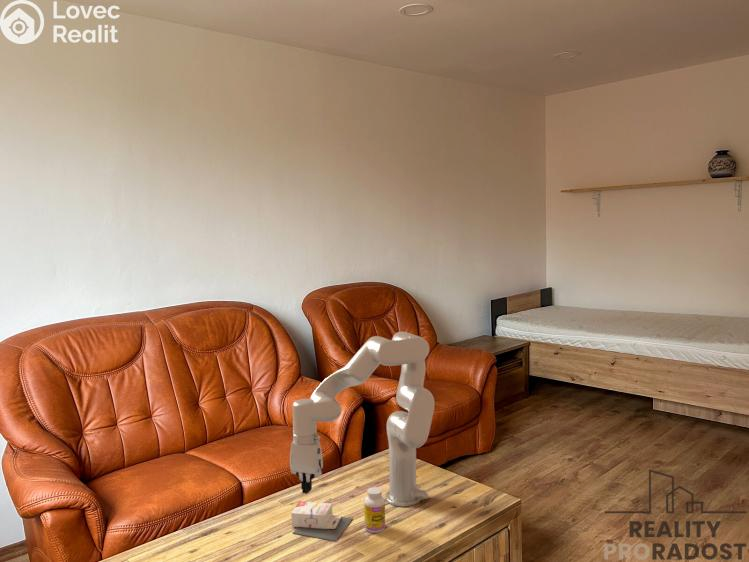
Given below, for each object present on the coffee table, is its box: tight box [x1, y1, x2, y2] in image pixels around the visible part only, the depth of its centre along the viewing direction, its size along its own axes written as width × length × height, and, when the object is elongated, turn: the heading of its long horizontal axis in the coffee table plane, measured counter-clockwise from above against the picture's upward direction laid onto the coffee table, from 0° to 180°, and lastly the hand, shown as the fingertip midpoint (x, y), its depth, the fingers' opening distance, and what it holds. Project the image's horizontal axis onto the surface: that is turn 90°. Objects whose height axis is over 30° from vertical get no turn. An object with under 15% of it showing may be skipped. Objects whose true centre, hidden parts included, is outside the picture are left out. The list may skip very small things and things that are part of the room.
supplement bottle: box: [363, 486, 386, 534], centre depth 185 cm, size 7×7×13 cm
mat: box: [292, 514, 353, 543], centre depth 187 cm, size 15×14×1 cm
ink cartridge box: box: [290, 500, 342, 529], centre depth 189 cm, size 9×5×15 cm
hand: (306, 491), depth 188 cm, fingers closed
